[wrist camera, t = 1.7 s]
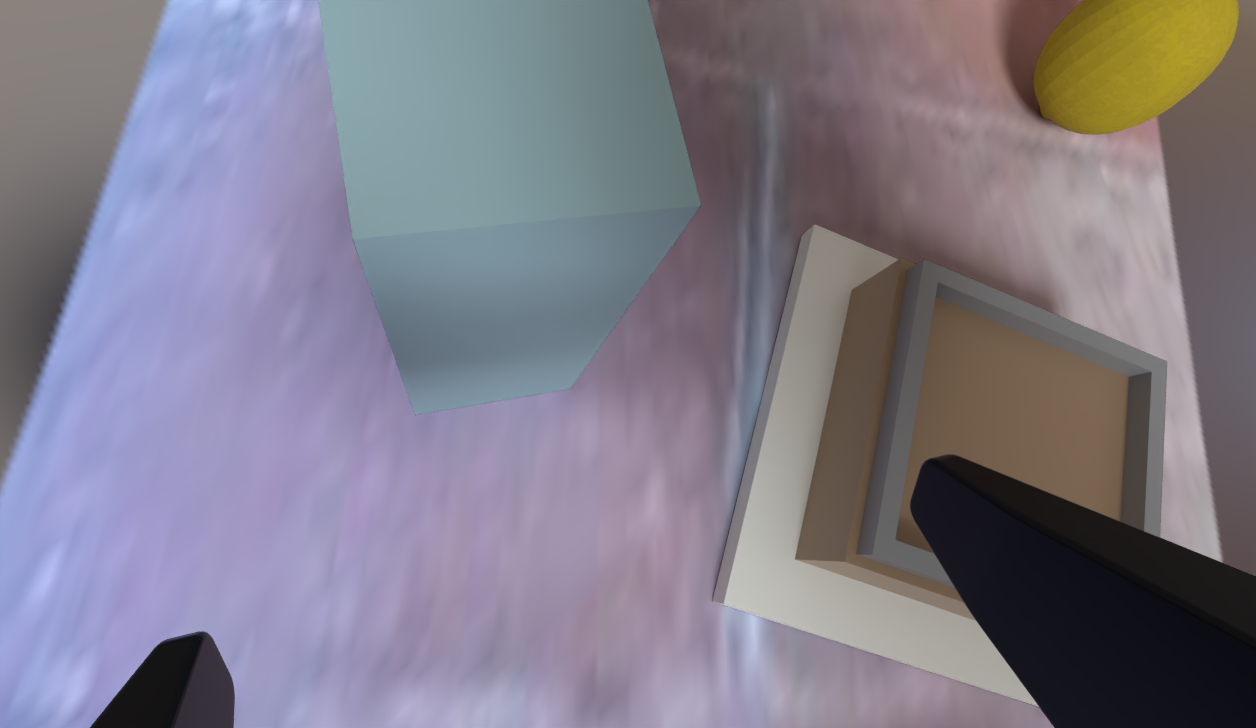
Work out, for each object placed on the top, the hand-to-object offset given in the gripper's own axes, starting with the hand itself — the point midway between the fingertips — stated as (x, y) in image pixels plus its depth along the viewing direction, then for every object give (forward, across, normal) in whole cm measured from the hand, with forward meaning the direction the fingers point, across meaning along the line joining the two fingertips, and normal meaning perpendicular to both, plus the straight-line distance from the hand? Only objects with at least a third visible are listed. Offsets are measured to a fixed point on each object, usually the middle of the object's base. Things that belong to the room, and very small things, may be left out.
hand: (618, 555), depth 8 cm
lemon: (+19, -27, 0) cm, 33 cm away
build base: (+9, -15, +10) cm, 20 cm away
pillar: (+14, 0, +4) cm, 15 cm away
